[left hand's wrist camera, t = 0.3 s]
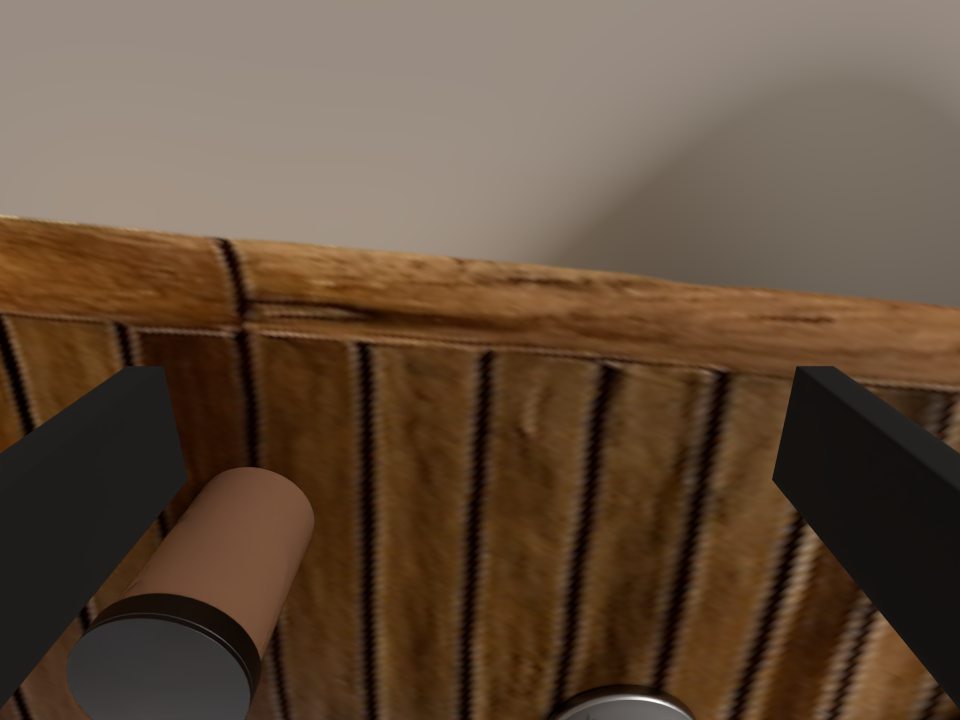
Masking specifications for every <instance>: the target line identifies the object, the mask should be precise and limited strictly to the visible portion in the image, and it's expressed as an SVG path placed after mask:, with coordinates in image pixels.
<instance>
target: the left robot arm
mask: <svg viewBox="0 0 960 720" xmlns="http://www.w3.org/2000/svg"><path fill="white" fill-rule="evenodd" d="M187 480H188V478H187V473H186V469H185V464H184V459H183V455H182V450H181V445H180V441H179V436H178V432H177V427H176V422H175V418H174V413H173V408H172V404H171V399H170V395H169V390H168V385H167V381H166V376H165V371H164V367H163V366H126V367H125V368H123V369H122V370H120V371H119V372H118V373H116V374H115V375H113V376H112V377H110V378H109V379H107V380H106V381H105V382H103V383H102V384H100V385H99V386H97V387H96V388H94V389H93V390H92V391H90V392H89V393H87V394H86V395H84V396H83V397H81V398H80V399H78V400H77V401H76V402H74V403H73V404H71V405H70V406H68V407H67V408H65V409H64V410H63V411H61V412H60V413H58V414H57V415H55V416H54V417H52V418H51V419H50V420H48V421H47V422H45V423H44V424H42V425H41V426H39V427H38V428H37V429H35V430H34V431H32V432H31V433H29V434H28V435H26V436H25V437H23V438H22V439H21V440H19V441H18V442H16V443H15V444H13V445H12V446H10V447H9V448H8V449H6V450H5V451H3V452H2V453H0V709H1V708H2V707H3V705H4V704H5V703H6V702H7V701H8V699H9V698H10V697H11V696H12V694H13V693H14V692H15V691H16V690H17V688H18V687H19V686H20V685H21V683H22V682H23V681H24V680H25V679H26V677H27V676H28V675H29V674H30V672H31V671H32V670H33V669H34V668H35V666H36V665H37V664H38V663H39V661H40V660H41V659H42V658H43V657H44V655H45V654H46V653H47V652H48V650H49V649H50V648H51V647H52V645H53V644H54V643H55V642H56V641H57V639H58V638H59V637H60V636H61V634H62V633H63V632H64V631H65V630H66V628H67V627H68V626H69V625H70V623H71V622H72V621H73V620H74V619H75V617H76V616H77V615H78V614H79V612H80V611H81V610H82V609H83V608H84V606H85V605H86V604H87V603H88V601H89V600H90V599H91V598H92V597H93V595H94V594H95V593H96V592H97V590H98V589H99V588H100V587H101V585H102V584H103V583H104V582H105V581H106V579H107V578H108V577H109V576H110V574H111V573H112V572H113V571H114V570H115V568H116V567H117V566H118V565H119V563H120V562H121V561H122V560H123V559H124V557H125V556H126V555H127V554H128V552H129V551H130V550H131V549H132V548H133V546H134V545H135V544H136V543H137V541H138V540H139V539H140V538H141V537H142V535H143V534H144V533H145V532H146V530H147V529H148V528H149V527H150V526H151V524H152V523H153V522H154V521H155V519H156V518H157V517H158V516H159V514H160V513H161V512H162V511H163V510H164V508H165V507H166V506H167V505H168V503H169V502H170V501H171V500H172V499H173V497H174V496H175V495H176V494H177V492H178V491H179V490H180V489H181V488H182V486H183V485H184V484H185V483H186V481H187ZM772 480H773V481H774V483H775V484H776V485H777V486H778V488H779V489H780V490H781V491H782V492H783V494H784V495H785V496H786V497H787V499H788V500H789V501H790V502H791V503H792V505H793V506H794V507H795V508H796V510H797V511H798V512H799V513H800V514H801V516H802V517H803V518H804V519H805V521H806V522H807V523H808V524H809V526H810V527H811V528H812V529H813V530H814V532H815V533H816V534H817V535H818V537H819V538H820V539H821V540H822V541H823V543H824V544H825V545H826V546H827V548H828V549H829V550H830V551H831V552H832V554H833V555H834V556H835V557H836V559H837V560H838V561H839V562H840V563H841V565H842V566H843V567H844V568H845V570H846V571H847V572H848V573H849V574H850V576H851V577H852V578H853V579H854V581H855V582H856V583H857V584H858V585H859V587H860V588H861V589H862V590H863V592H864V593H865V594H866V595H867V597H868V598H869V599H870V600H871V601H872V603H873V604H874V605H875V606H876V608H877V609H878V610H879V611H880V612H881V614H882V615H883V616H884V617H885V619H886V620H887V621H888V622H889V623H890V625H891V626H892V627H893V628H894V630H895V631H896V632H897V633H898V634H899V636H900V637H901V638H902V639H903V641H904V642H905V643H906V644H907V645H908V647H909V648H910V649H911V650H912V652H913V653H914V654H915V655H916V657H917V658H918V659H919V660H920V661H921V663H922V664H923V665H924V666H925V668H926V669H927V670H928V671H929V672H930V674H931V675H932V676H933V677H934V679H935V680H936V681H937V682H938V683H939V685H940V686H941V687H942V688H943V690H944V691H945V692H946V693H947V694H948V696H949V697H950V698H951V699H952V701H953V702H954V703H955V704H956V705H957V707H958V708H959V709H960V453H958V452H957V451H955V450H954V449H952V448H951V447H950V446H948V445H947V444H945V443H944V442H942V441H941V440H939V439H938V438H937V437H935V436H934V435H932V434H931V433H929V432H928V431H926V430H925V429H923V428H922V427H921V426H919V425H918V424H916V423H915V422H913V421H912V420H910V419H909V418H908V417H906V416H905V415H903V414H902V413H900V412H899V411H897V410H896V409H895V408H893V407H892V406H890V405H889V404H887V403H886V402H884V401H883V400H882V399H880V398H879V397H877V396H876V395H874V394H873V393H871V392H870V391H868V390H867V389H866V388H864V387H863V386H861V385H860V384H858V383H857V382H855V381H854V380H853V379H851V378H850V377H848V376H847V375H845V374H844V373H842V372H841V371H840V370H838V369H837V368H835V367H834V366H797V367H796V371H795V376H794V381H793V385H792V390H791V395H790V399H789V404H788V408H787V413H786V418H785V422H784V427H783V432H782V436H781V441H780V445H779V450H778V455H777V459H776V464H775V469H774V473H773V478H772ZM548 720H696V719H695V716H694V715H693V713H692V712H691V711H690V710H689V708H688V707H687V706H686V705H685V704H683V703H682V702H681V701H680V700H678V699H677V698H675V697H673V696H672V695H669V694H667V693H665V692H662V691H660V690H656V689H653V688H648V687H643V686H632V685H621V686H610V687H604V688H600V689H596V690H592V691H589V692H586V693H584V694H581V695H579V696H577V697H575V698H573V699H571V700H570V701H568V702H566V703H565V704H564V705H562V706H561V707H560V708H559V709H557V710H556V711H555V712H554V713H553V714H552V716H551V717H550V718H549V719H548Z"/></svg>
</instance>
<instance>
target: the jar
mask: <svg viewBox="0 0 960 720" xmlns="http://www.w3.org/2000/svg"><path fill="white" fill-rule="evenodd" d="M314 524H315V522H314V514H313V510H312V507H311V504H310V502H309V501H308V499H307V497H306V496H305V494H304V493H303V492H302V491H301V490H300V489H299V488H298V487H297V486H296V485H295V484H294V483H293V482H291V481H290V480H288V479H287V478H285V477H283V476H282V475H280V474H278V473H275V472H272V471H269V470H266V469H261V468H255V467H241V468H234V469H230V470H227V471H224V472H222V473H220V474H218V475H216V476H215V477H213V478H212V479H211V480H209V481H208V482H207V483H206V485H205V486H204V487H203V488H202V490H201V491H200V492H199V494H198V495H197V496H196V498H195V499H194V500H193V502H192V503H191V504H190V505H189V507H188V508H187V509H186V511H185V512H184V513H183V515H182V516H181V517H180V519H179V520H178V521H177V523H176V524H175V525H174V527H173V528H172V529H171V531H170V532H169V533H168V535H167V536H166V537H165V538H164V540H163V541H162V542H161V544H160V545H159V546H158V548H157V549H156V550H155V552H154V553H153V554H152V556H151V557H150V558H149V560H148V561H147V562H146V564H145V565H144V566H143V568H142V569H141V570H140V571H139V573H138V574H137V575H136V577H135V578H134V579H133V581H132V582H131V583H130V585H129V586H128V587H127V589H126V590H125V591H124V593H123V594H122V595H121V597H120V598H119V599H118V601H120V600H122V599H125V598H128V597H131V596H135V595H141V594H150V593H167V594H175V595H182V596H186V597H190V598H194V599H197V600H199V601H202V602H205V603H207V604H209V605H212V606H214V607H216V608H217V609H219V610H221V611H223V612H224V613H226V614H227V615H229V616H230V617H231V618H233V619H234V620H235V621H236V622H237V623H239V624H240V625H241V626H242V627H243V628H244V630H245V631H246V632H247V633H248V634H249V636H250V637H251V639H252V640H253V642H254V643H255V646H256V648H257V650H258V653H259V656H260V660H261V661H262V658H263V656H264V653H265V651H266V648H267V646H268V643H269V641H270V638H271V636H272V634H273V631H274V629H275V626H276V624H277V621H278V619H279V616H280V614H281V611H282V609H283V606H284V604H285V601H286V599H287V597H288V594H289V592H290V589H291V587H292V584H293V582H294V579H295V577H296V574H297V572H298V569H299V567H300V565H301V562H302V560H303V557H304V555H305V552H306V550H307V547H308V545H309V542H310V540H311V537H312V535H313V531H314ZM118 601H117V602H118Z"/></svg>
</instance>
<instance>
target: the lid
mask: <svg viewBox="0 0 960 720" xmlns="http://www.w3.org/2000/svg"><path fill="white" fill-rule="evenodd" d="M66 673H67V681H68V684H69V688H70V690H71V692H72V694H73V697H74V698H75V700H76V701H77V703H78V704H79V706H80V707H81V708H82V709H83V710H84V711H85V713H86V714H88V715H89V716H90V717H91V718H92V719H93V720H244V718H245V717H246V715H247V712H248V710H249V708H250V705H251V703H252V700H253V697H254V695H255V692H256V690H257V687H258V685H259V681H260V678H261V660H260V656H259V653H258V650H257V648H256V646H255V643H254V642H253V640H252V639H251V637H250V636H249V634H248V633H247V632H246V631H245V630H244V628H243V627H242V626H241V625H240V624H239V623H237V622H236V621H235V620H234V619H233V618H231V617H230V616H229V615H227V614H226V613H224V612H223V611H221V610H219V609H217V608H216V607H214V606H212V605H209V604H207V603H205V602H202V601H199V600H197V599H194V598H190V597H186V596H182V595H175V594H167V593H150V594H141V595H135V596H131V597H128V598H125V599H122V600H120V601H118V602H115V603H113V604H112V605H110V606H109V607H107V608H106V609H104V610H103V611H102V612H101V613H100V614H99V615H98V616H97V617H96V619H95V620H94V621H93V622H92V624H91V625H90V626H89V627H88V629H87V630H86V631H85V633H84V634H83V635H82V637H81V638H80V639H79V640H78V642H77V643H76V644H75V646H74V647H73V649H72V651H71V653H70V655H69V658H68V661H67V670H66Z"/></svg>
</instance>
